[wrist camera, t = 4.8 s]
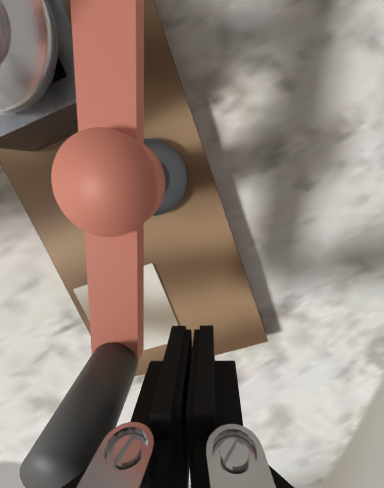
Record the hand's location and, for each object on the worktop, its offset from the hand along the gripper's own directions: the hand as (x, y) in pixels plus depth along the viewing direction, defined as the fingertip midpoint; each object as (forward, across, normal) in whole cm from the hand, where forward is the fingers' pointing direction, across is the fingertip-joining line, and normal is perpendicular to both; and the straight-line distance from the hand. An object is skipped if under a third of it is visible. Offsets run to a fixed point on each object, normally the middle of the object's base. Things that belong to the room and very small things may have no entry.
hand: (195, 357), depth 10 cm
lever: (+2, +3, -8) cm, 8 cm away
